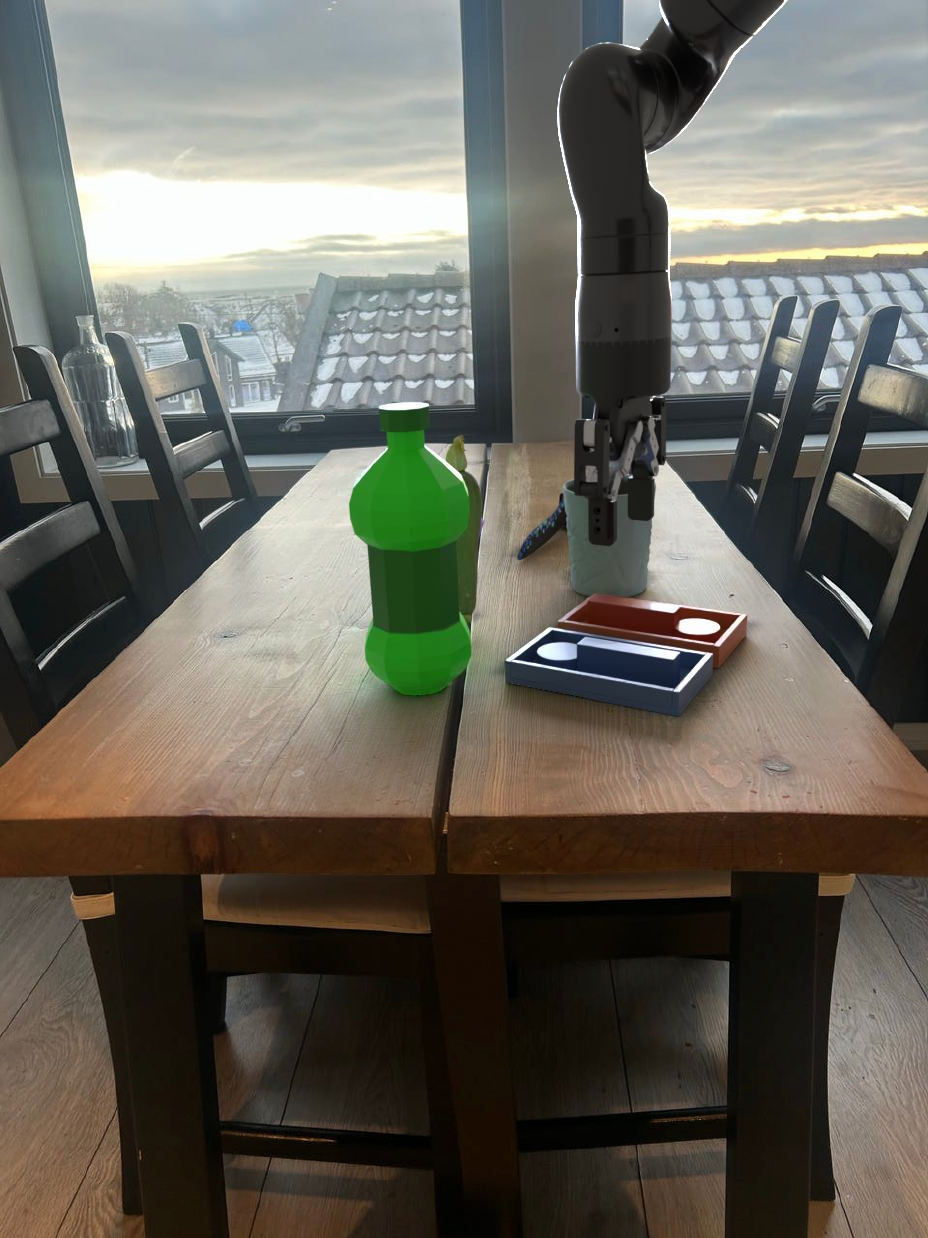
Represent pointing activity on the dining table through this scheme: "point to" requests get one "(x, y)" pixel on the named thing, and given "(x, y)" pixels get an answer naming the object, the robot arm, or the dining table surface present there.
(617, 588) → the green cup
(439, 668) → the plastic bottle
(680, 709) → the blue tray
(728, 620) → the red tray
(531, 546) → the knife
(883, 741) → the dining table surface
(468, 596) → the vegetable
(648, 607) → the red bar with disc
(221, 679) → the dining table surface
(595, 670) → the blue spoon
